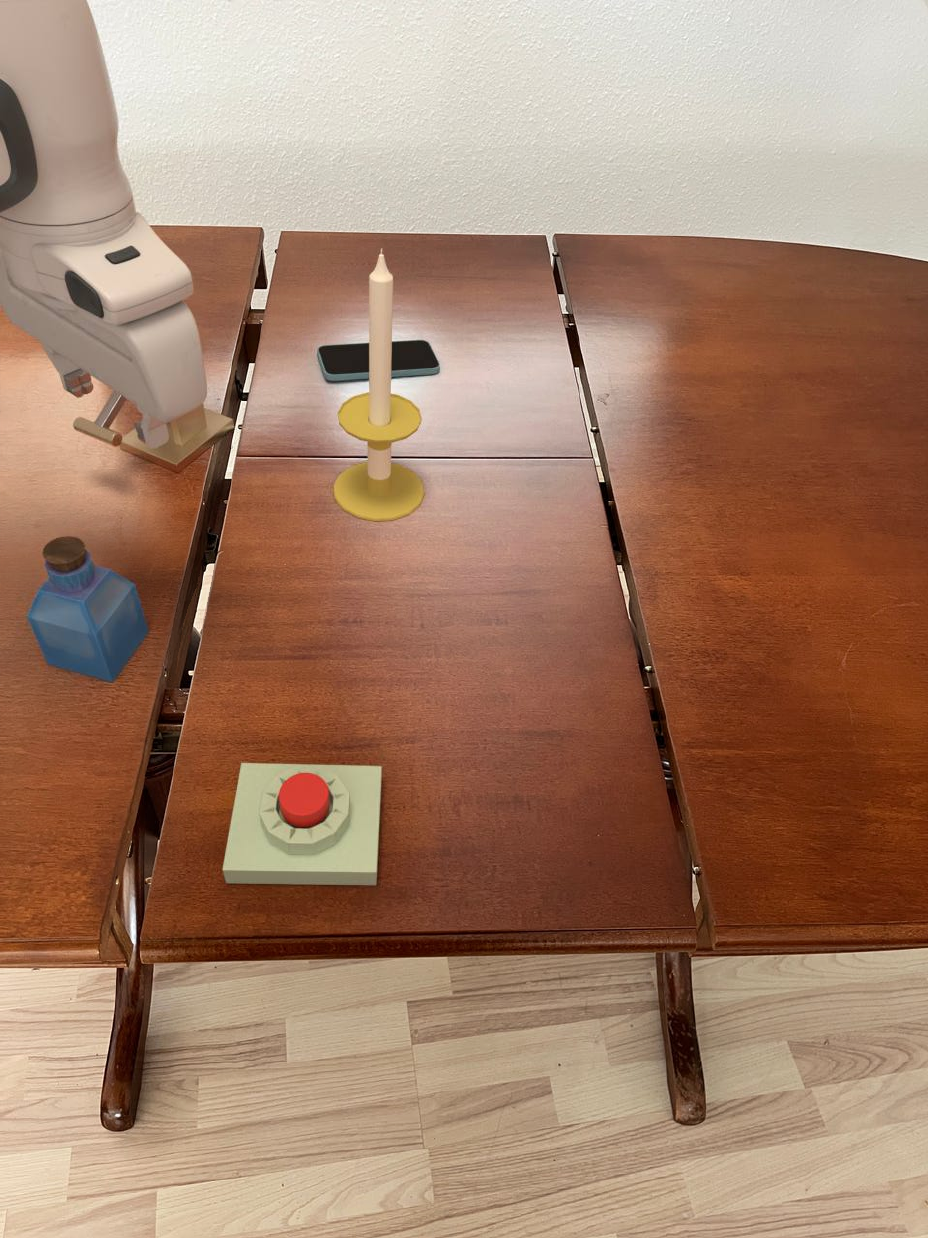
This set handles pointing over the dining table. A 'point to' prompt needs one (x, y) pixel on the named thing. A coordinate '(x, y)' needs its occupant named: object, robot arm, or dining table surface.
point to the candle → (379, 423)
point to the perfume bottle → (85, 613)
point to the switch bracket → (182, 439)
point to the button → (304, 799)
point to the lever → (103, 422)
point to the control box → (305, 829)
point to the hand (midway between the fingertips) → (116, 416)
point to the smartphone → (355, 360)
